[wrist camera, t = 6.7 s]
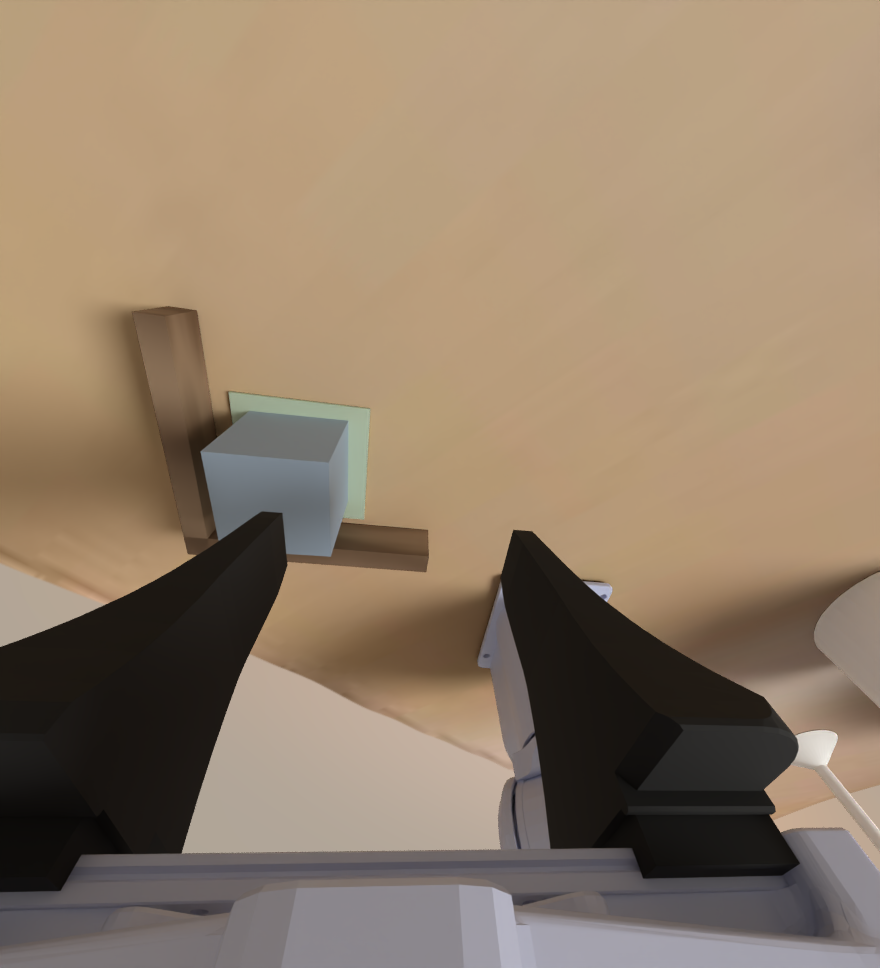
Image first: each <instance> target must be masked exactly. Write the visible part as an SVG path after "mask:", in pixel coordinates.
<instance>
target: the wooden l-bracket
mask: <svg viewBox="0 0 880 968" xmlns="http://www.w3.org/2000/svg"><path fill="white" fill-rule="evenodd" d="M132 314H133V318H134V323H135V327H136V331H137V336H138V340H139V344H140V349H141V353H142V357H143V362H144V366H145V370H146V375H147V379H148V383H149V388H150V392H151V396H152V401H153V405H154V409H155V414H156V418H157V422H158V427H159V431H160V435H161V440H162V444H163V448H164V453H165V457H166V461H167V466H168V470H169V475H170V479H171V483H172V488H173V492H174V496H175V501H176V505H177V509H178V514H179V518H180V522H181V527H182V531H183V535H184V540H185V544H186V548H187V553H188V554H192V555H198V554H200V553H201V552H203V551H205V550H206V549H208V548H209V547H211V546H212V545H214V544H215V543H217V542H218V541H219V540H218V535H217V531H216V526H215V521H214V516H213V511H212V506H211V501H210V496H209V491H208V486H207V481H206V476H205V471H204V466H203V461H202V456H201V451H202V450H203V449H204V448H205V447H207V446H208V445H209V444H210V443H211V442H213V441H214V440H215V439H216V432H215V425H214V419H213V412H212V406H211V399H210V393H209V386H208V380H207V373H206V367H205V360H204V354H203V347H202V341H201V334H200V328H199V321H198V315H197V310H190V309H183V308H176V307H169V306H168V307H161V308H155V309H148V310H141V311H134V312H132ZM286 555H287V562H298V563H311V564H324V565H338V566H351V567H364V568H377V569H391V570H404V571H417V572H426V570H427V564H428V558H429V550H428V530H418V529H407V528H395V527H384V526H373V525H361V524H350V523H341V525H340V528H339V532H338V535H337V538H336V541H335V545H334V548H333V551H332V554H331V557H328V556H312V555H296V554H286Z"/></svg>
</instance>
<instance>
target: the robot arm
mask: <svg viewBox="0 0 880 968" xmlns="http://www.w3.org/2000/svg"><path fill="white" fill-rule="evenodd" d="M286 568H287V555H286V545H285V534H284V523H283V513H278V512H265V511H261V512H260V513H258V514H257V515H255V516H254V517H252V518H251V519H250V520H248V521H247V522H245V523H244V524H242V525H241V526H240V527H238V528H237V529H235V530H234V531H233V532H231V533H230V534H228V535H227V536H225V537H224V538H222V539H221V540H219V541H218V542H217V543H215V544H214V545H212V546H211V547H209V548H208V549H206V550H205V551H203V552H201V553H200V554H198V555H197V556H195V557H193V558H192V559H190V560H189V561H187V562H185V563H184V564H182V565H181V566H179V567H177V568H176V569H174V570H172V571H171V572H169V573H167V574H166V575H164V576H162V577H160V578H158V579H157V580H155V581H153V582H151V583H149V584H147V585H145V586H143V587H141V588H139V589H138V590H136V591H134V592H132V593H130V594H128V595H126V596H124V597H121V598H119V599H117V600H115V601H113V602H110V603H108V604H106V605H104V606H102V607H99V608H97V609H95V610H93V611H91V612H89V613H86V614H84V615H82V616H80V617H77V618H75V619H72V620H70V621H68V622H65V623H63V624H60V625H58V626H55V627H53V628H51V629H48V630H45V631H43V632H40V633H37V634H35V635H32V636H29V637H27V638H24V639H22V640H19V641H16V642H14V643H10V644H8V645H5V646H2V647H0V968H880V872H879V870H878V869H877V868H876V866H875V865H874V864H873V862H872V861H871V860H870V859H869V857H868V856H867V855H866V853H865V852H864V851H863V849H862V848H861V847H860V845H859V844H858V843H857V842H856V840H855V839H854V838H853V836H852V835H851V834H850V832H849V831H847V830H845V829H843V828H796V829H790V830H787V831H784V832H781V833H780V831H779V830H778V828H777V827H776V825H775V823H774V822H773V820H772V819H771V817H770V816H769V814H773V813H775V812H776V811H775V806H774V804H773V803H772V801H771V800H770V798H769V797H768V795H767V794H766V792H765V791H764V789H765V788H766V787H767V786H768V785H769V784H770V783H771V782H772V781H774V780H775V779H776V778H777V777H778V776H779V775H780V774H781V773H782V772H784V771H785V770H786V769H787V768H788V767H789V766H790V765H791V763H792V762H793V761H794V760H795V758H796V756H797V753H798V749H799V745H798V740H797V738H796V737H795V735H794V734H793V733H792V732H791V730H790V729H789V728H788V727H787V725H786V724H785V723H784V722H783V720H782V719H781V718H780V717H779V715H778V714H777V713H776V712H775V710H774V709H773V708H772V707H771V705H770V704H769V703H768V702H767V700H766V699H765V698H764V697H762V696H760V695H758V694H756V693H754V692H752V691H750V690H748V689H746V688H744V687H743V686H741V685H739V684H737V683H735V682H733V681H731V680H729V679H727V678H725V677H723V676H721V675H719V674H717V673H715V672H713V671H711V670H709V669H707V668H706V667H704V666H702V665H700V664H699V663H697V662H695V661H693V660H692V659H690V658H688V657H686V656H684V655H683V654H681V653H679V652H678V651H676V650H675V649H673V648H671V647H670V646H668V645H666V644H665V643H663V642H662V641H660V640H659V639H657V638H656V637H654V636H653V635H651V634H650V633H648V632H647V631H645V630H643V629H642V628H641V627H639V626H638V625H636V624H635V623H633V622H632V621H631V620H629V619H628V618H627V617H625V616H624V615H623V614H621V613H620V612H619V611H617V610H616V609H615V608H614V607H612V606H611V605H610V604H608V603H607V601H608V599H609V597H610V595H611V593H612V590H613V589H612V587H611V586H610V584H608V583H599V582H586V581H582V580H581V579H580V578H579V577H577V576H576V575H575V574H574V573H573V572H572V571H571V570H570V569H569V568H568V567H567V566H566V565H565V564H564V563H563V562H562V561H561V560H560V559H559V558H558V557H557V556H556V555H555V554H554V553H553V552H552V551H551V550H550V549H549V548H548V547H547V546H546V545H545V544H544V543H543V542H542V541H541V540H540V539H539V538H538V537H537V536H536V535H535V534H534V533H533V532H532V531H521V530H513V533H512V537H511V541H510V544H509V548H508V552H507V556H506V559H505V563H504V567H503V571H502V574H501V582H500V585H499V589H498V592H497V595H496V599H495V602H494V606H493V609H492V612H491V616H490V619H489V622H488V626H487V629H486V632H485V636H484V639H483V643H482V646H481V649H480V653H479V656H478V659H477V662H478V666H479V667H481V668H490V670H491V676H492V681H493V687H494V693H495V698H496V704H497V709H498V715H499V721H500V726H501V732H502V737H503V742H504V745H505V749H506V751H507V753H508V755H509V757H510V759H511V761H512V763H513V768H514V773H515V777H512V778H510V779H508V780H507V781H506V783H505V785H504V788H503V791H502V797H501V801H500V805H499V814H498V827H499V839H500V845H501V850H428V851H350V852H349V851H345V852H275V853H274V852H272V853H271V852H267V853H192V854H191V853H188V854H187V853H185V854H181V853H182V850H183V846H184V843H185V839H186V836H187V833H188V829H189V826H190V823H191V819H192V816H193V812H194V809H195V806H196V802H197V799H198V796H199V792H200V789H201V786H202V783H203V780H204V777H205V774H206V770H207V768H208V764H209V761H210V758H211V755H212V752H213V749H214V746H215V743H216V740H217V737H218V734H219V732H220V729H221V725H222V722H223V720H224V717H225V714H226V711H227V708H228V706H229V703H230V700H231V697H232V694H233V692H234V689H235V686H236V684H237V681H238V678H239V676H240V673H241V671H242V669H243V667H244V664H245V662H246V660H247V657H248V656H249V654H250V651H251V649H252V647H253V645H254V643H255V641H256V639H257V637H258V635H259V633H260V631H261V629H262V627H263V625H264V622H265V620H266V618H267V616H268V614H269V612H270V610H271V608H272V606H273V604H274V601H275V599H276V597H277V595H278V592H279V589H280V586H281V583H282V580H283V577H284V574H285V571H286Z"/></svg>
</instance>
